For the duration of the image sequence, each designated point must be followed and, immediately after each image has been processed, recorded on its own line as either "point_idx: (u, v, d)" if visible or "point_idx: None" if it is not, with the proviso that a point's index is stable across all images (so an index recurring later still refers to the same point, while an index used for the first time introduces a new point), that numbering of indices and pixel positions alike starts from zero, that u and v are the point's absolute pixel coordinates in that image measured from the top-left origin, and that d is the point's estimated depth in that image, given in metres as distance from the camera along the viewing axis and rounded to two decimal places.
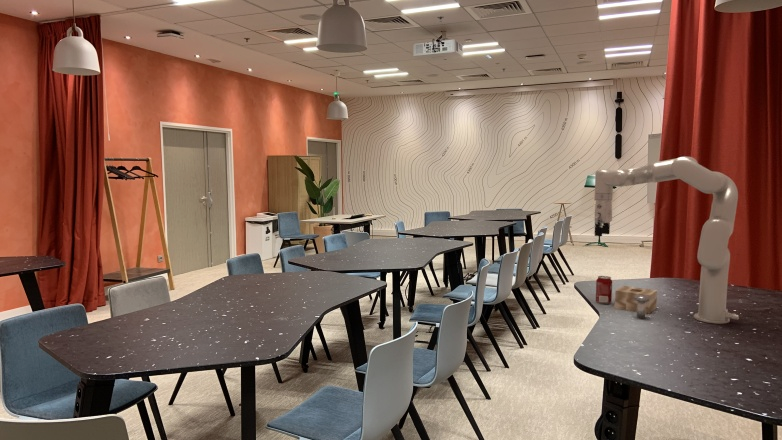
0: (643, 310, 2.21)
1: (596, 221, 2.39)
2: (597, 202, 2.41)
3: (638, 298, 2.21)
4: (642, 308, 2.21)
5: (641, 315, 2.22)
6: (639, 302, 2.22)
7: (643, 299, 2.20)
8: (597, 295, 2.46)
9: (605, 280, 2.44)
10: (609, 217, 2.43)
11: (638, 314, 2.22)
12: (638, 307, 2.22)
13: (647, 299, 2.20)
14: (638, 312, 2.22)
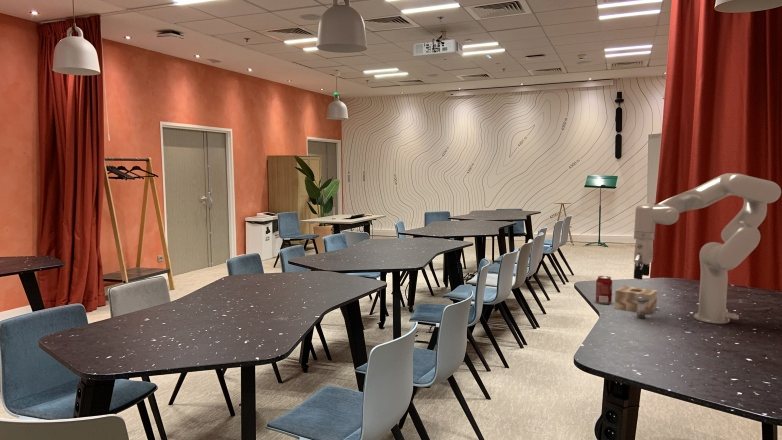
0: (643, 310, 2.21)
1: (636, 263, 2.15)
2: (637, 241, 2.17)
3: (638, 298, 2.21)
4: (642, 308, 2.21)
5: (641, 315, 2.22)
6: (639, 302, 2.22)
7: (643, 299, 2.20)
8: (597, 295, 2.46)
9: (605, 280, 2.44)
10: (650, 258, 2.19)
11: (638, 314, 2.22)
12: (638, 307, 2.22)
13: (647, 299, 2.20)
14: (638, 312, 2.22)
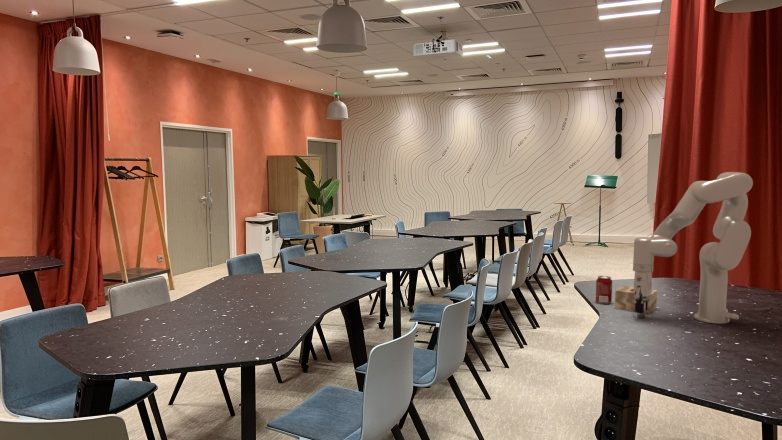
0: None
1: (637, 299, 2.18)
2: (636, 274, 2.19)
3: None
4: None
5: (641, 315, 2.22)
6: None
7: None
8: (597, 295, 2.46)
9: (605, 280, 2.44)
10: (649, 290, 2.21)
11: (638, 314, 2.22)
12: None
13: (647, 299, 2.20)
14: None
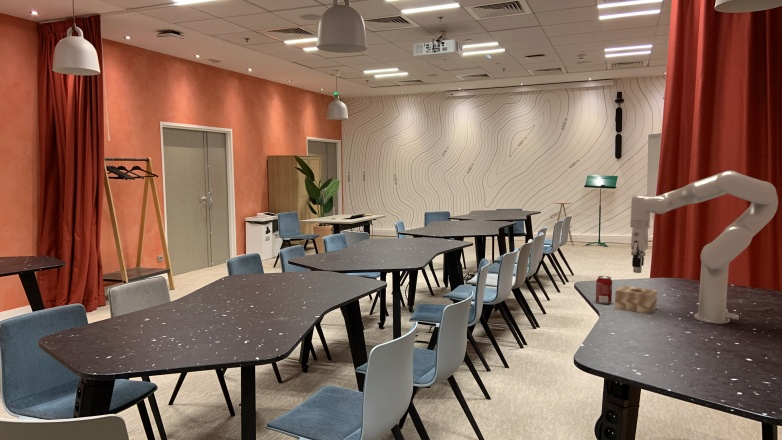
0: (640, 265, 2.32)
1: (635, 253, 2.28)
2: (634, 229, 2.29)
3: None
4: None
5: (637, 270, 2.32)
6: None
7: (640, 254, 2.30)
8: (597, 295, 2.46)
9: (605, 280, 2.44)
10: (646, 245, 2.31)
11: (635, 269, 2.33)
12: None
13: (643, 254, 2.30)
14: (635, 267, 2.32)
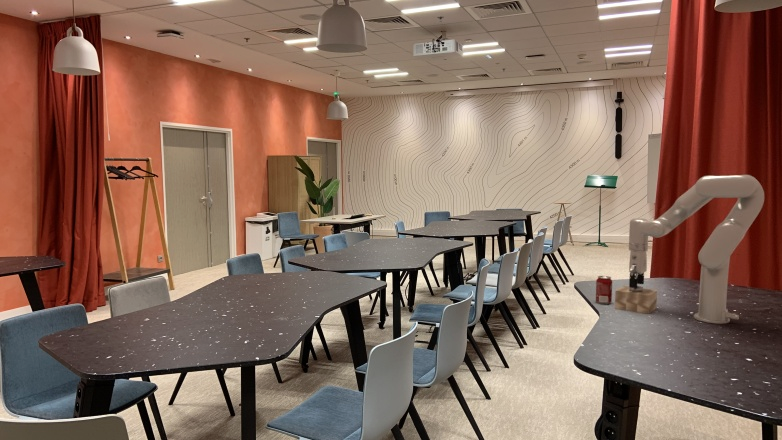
0: None
1: (631, 273, 2.30)
2: (632, 252, 2.33)
3: (633, 289, 2.35)
4: None
5: None
6: None
7: (637, 290, 2.34)
8: (597, 295, 2.46)
9: (605, 280, 2.44)
10: (644, 268, 2.34)
11: None
12: None
13: (641, 290, 2.34)
14: None
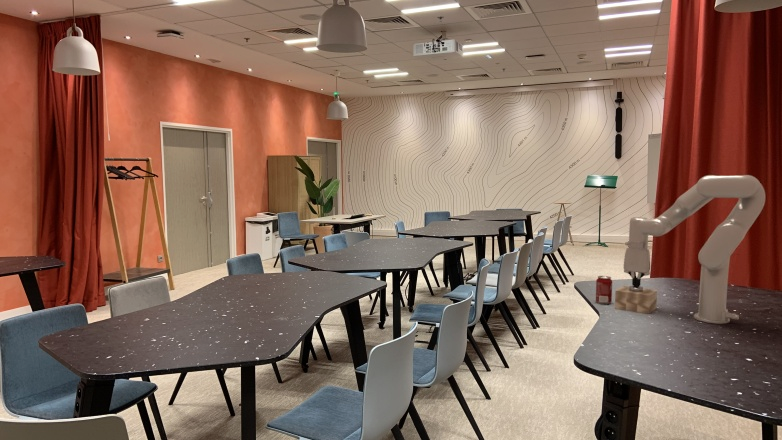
0: None
1: None
2: None
3: (633, 289, 2.35)
4: None
5: None
6: None
7: (637, 290, 2.34)
8: (597, 295, 2.46)
9: (605, 280, 2.44)
10: (636, 267, 2.33)
11: None
12: None
13: (641, 290, 2.34)
14: None
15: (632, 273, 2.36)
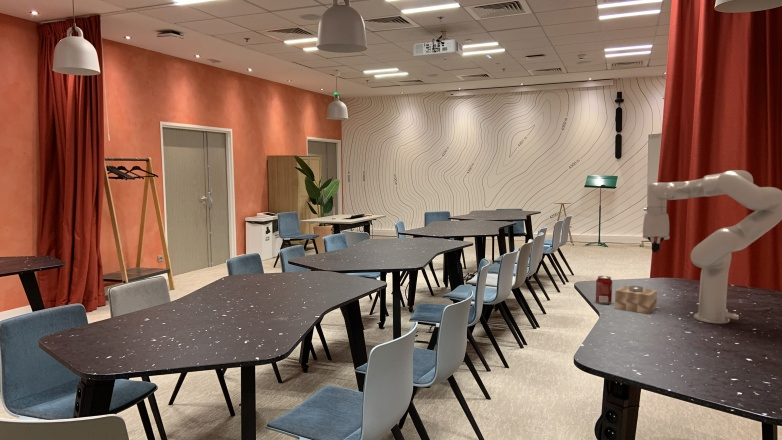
0: None
1: (646, 238, 2.40)
2: None
3: (633, 289, 2.35)
4: None
5: None
6: None
7: (637, 290, 2.34)
8: (597, 295, 2.46)
9: (605, 280, 2.44)
10: (656, 231, 2.35)
11: None
12: None
13: (641, 290, 2.34)
14: None
15: (651, 238, 2.38)
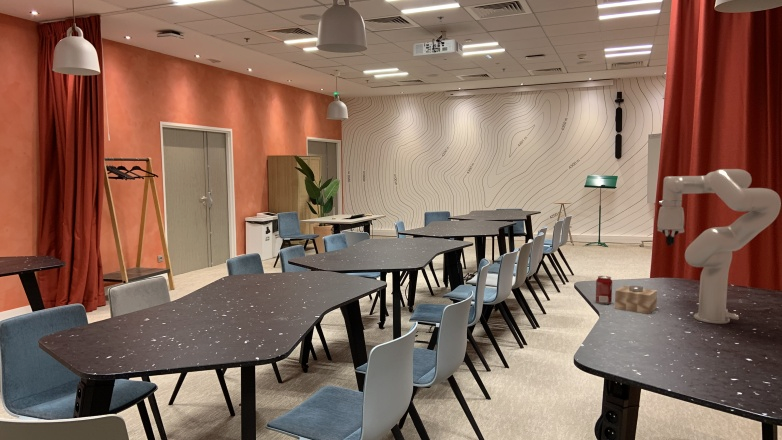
0: None
1: (660, 231, 2.43)
2: None
3: (633, 289, 2.35)
4: None
5: None
6: None
7: (637, 290, 2.34)
8: (597, 295, 2.46)
9: (605, 280, 2.44)
10: (670, 224, 2.38)
11: None
12: None
13: (641, 290, 2.34)
14: None
15: (666, 231, 2.41)
